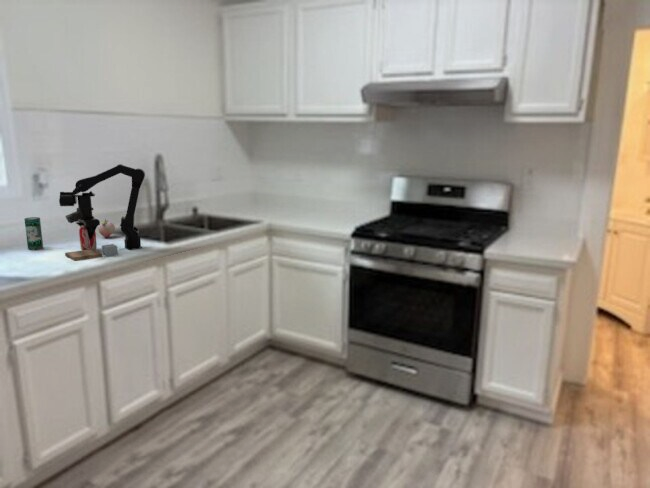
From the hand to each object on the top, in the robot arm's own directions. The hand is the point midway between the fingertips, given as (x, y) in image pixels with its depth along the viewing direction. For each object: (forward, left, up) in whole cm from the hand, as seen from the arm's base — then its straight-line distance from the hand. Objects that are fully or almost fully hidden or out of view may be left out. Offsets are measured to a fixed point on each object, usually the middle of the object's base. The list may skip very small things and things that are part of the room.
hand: (87, 238), depth 232 cm
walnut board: (+6, +11, -6) cm, 14 cm away
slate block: (-4, +16, -6) cm, 18 cm away
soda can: (0, 0, -6) cm, 6 cm away
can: (+18, -20, -6) cm, 28 cm away
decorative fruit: (-18, -25, -6) cm, 31 cm away
